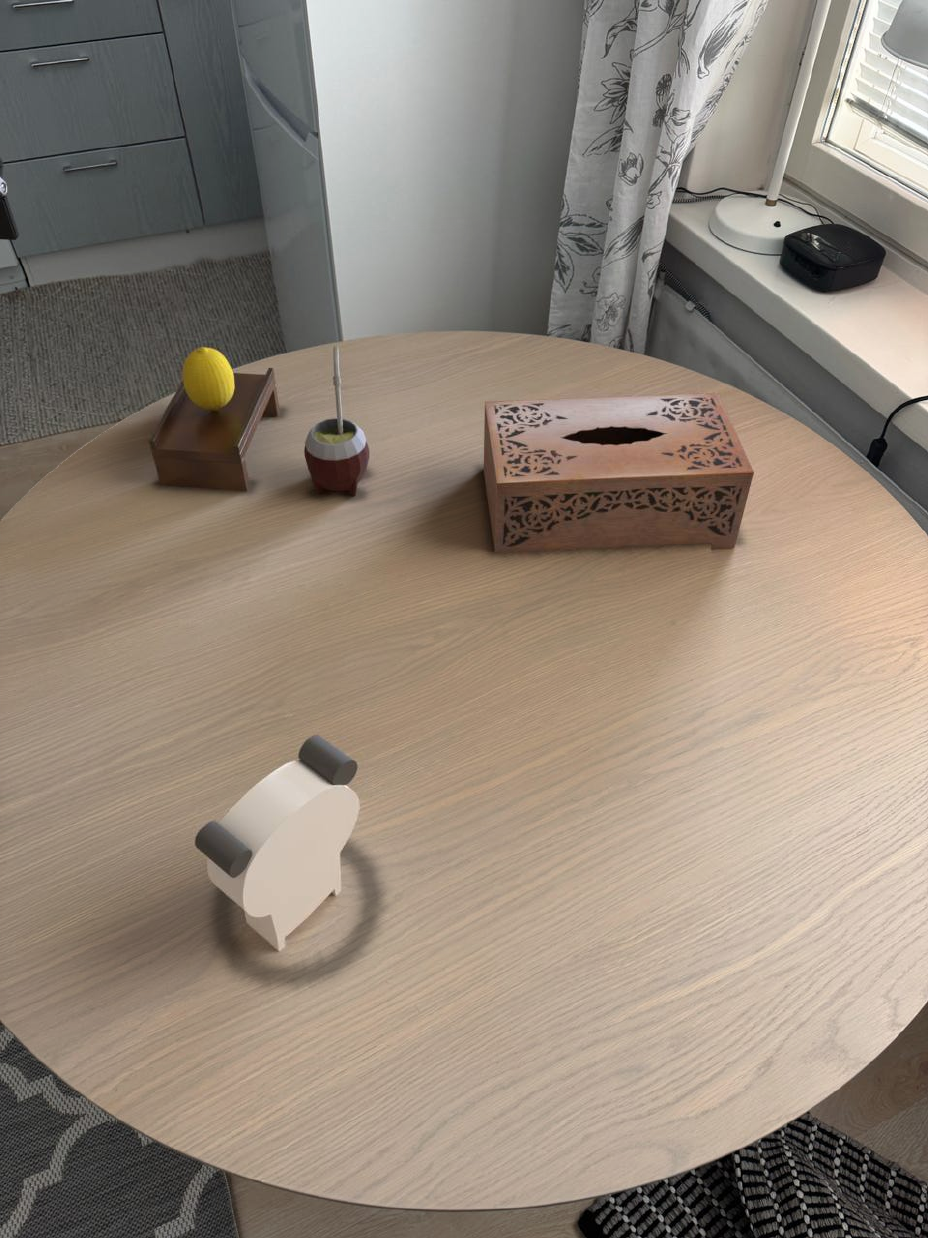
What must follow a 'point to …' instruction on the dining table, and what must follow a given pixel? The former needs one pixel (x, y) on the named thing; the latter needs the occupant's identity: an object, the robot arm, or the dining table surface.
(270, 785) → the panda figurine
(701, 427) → the tissue box cover
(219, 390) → the lemon
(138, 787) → the dining table surface
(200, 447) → the shelf
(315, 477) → the mate gourd
